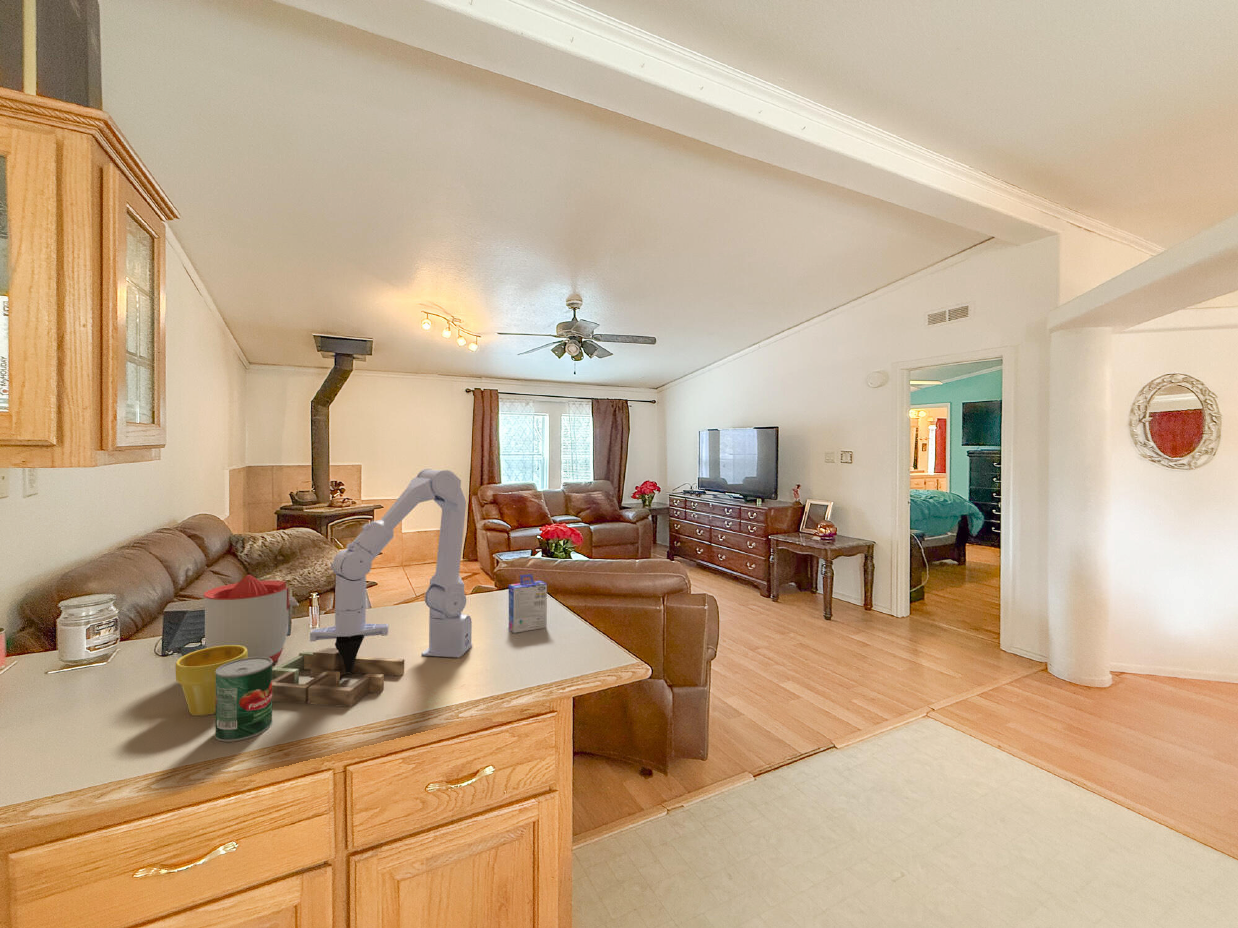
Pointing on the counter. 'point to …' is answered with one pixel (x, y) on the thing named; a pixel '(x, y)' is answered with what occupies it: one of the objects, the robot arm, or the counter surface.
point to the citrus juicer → (249, 616)
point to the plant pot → (204, 675)
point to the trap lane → (330, 681)
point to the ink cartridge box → (527, 605)
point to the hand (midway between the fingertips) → (349, 671)
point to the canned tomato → (243, 698)
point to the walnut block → (327, 662)
